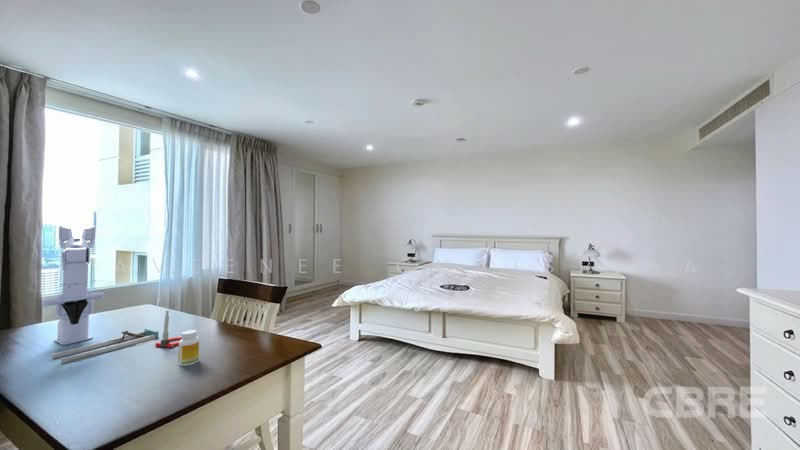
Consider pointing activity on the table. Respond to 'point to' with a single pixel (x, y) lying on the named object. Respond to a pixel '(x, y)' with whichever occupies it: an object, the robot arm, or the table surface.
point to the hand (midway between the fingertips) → (74, 323)
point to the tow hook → (165, 340)
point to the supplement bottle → (188, 348)
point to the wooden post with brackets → (130, 335)
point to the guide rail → (151, 336)
